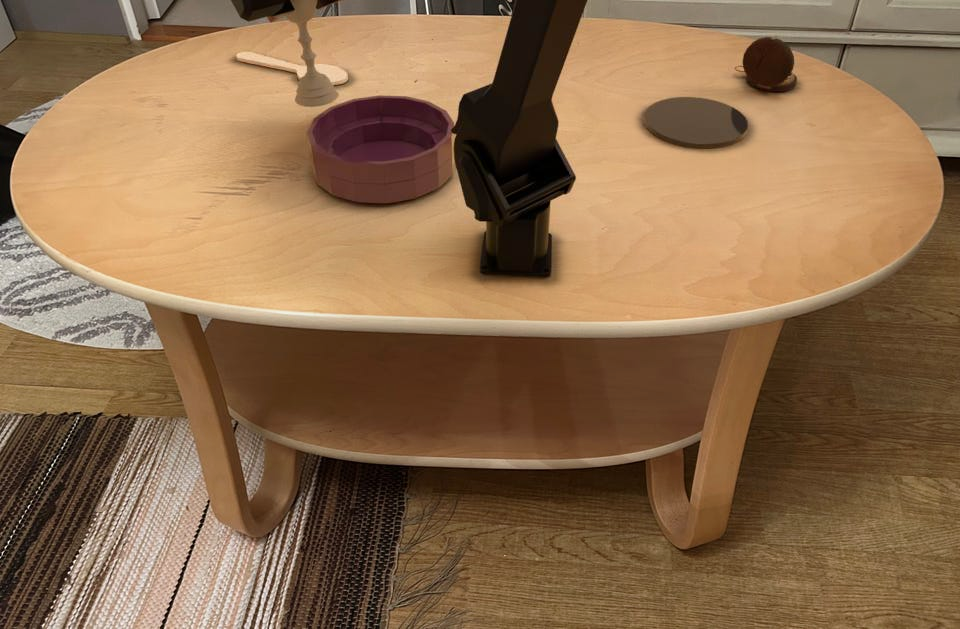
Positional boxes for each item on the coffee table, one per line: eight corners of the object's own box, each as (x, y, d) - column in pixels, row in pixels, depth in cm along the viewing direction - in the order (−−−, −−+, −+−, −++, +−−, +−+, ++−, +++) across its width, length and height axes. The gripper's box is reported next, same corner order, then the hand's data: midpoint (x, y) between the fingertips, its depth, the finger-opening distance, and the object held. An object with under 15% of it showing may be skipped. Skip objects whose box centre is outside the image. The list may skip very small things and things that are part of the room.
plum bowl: (446, 210, 80) (444, 166, 77) (299, 204, 81) (291, 161, 78) (460, 138, 92) (460, 97, 89) (331, 133, 93) (325, 93, 90)
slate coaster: (755, 150, 89) (756, 145, 89) (648, 146, 90) (648, 141, 90) (737, 102, 98) (738, 98, 98) (640, 99, 99) (640, 95, 99)
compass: (801, 79, 104) (816, 23, 99) (782, 102, 99) (797, 44, 94) (742, 65, 107) (754, 10, 102) (720, 86, 102) (731, 30, 97)
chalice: (276, 95, 93) (237, -71, 81) (329, 78, 95) (298, -84, 84) (303, 117, 88) (265, -56, 76) (357, 99, 91) (329, -71, 79)
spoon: (251, 49, 112) (250, 45, 111) (357, 74, 105) (357, 70, 105) (225, 63, 108) (224, 59, 108) (333, 89, 101) (333, 85, 101)
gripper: (377, -172, 77) (329, -72, 91) (198, -144, 68) (175, -37, 81) (432, -69, 78) (377, 16, 91) (262, -27, 68) (229, 60, 82)
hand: (293, 11), depth 86 cm, fingers closed on chalice, 5 cm apart
